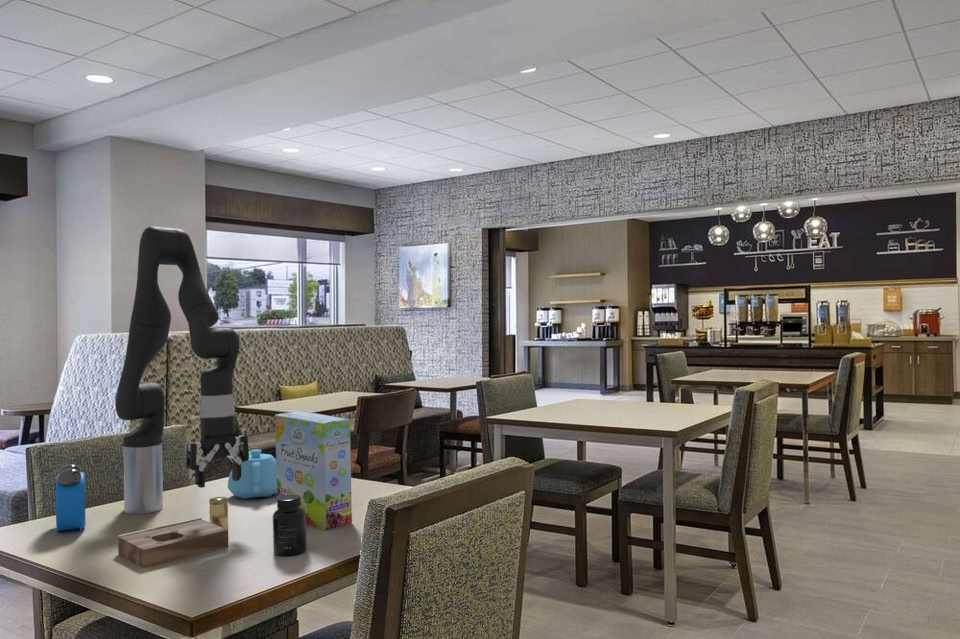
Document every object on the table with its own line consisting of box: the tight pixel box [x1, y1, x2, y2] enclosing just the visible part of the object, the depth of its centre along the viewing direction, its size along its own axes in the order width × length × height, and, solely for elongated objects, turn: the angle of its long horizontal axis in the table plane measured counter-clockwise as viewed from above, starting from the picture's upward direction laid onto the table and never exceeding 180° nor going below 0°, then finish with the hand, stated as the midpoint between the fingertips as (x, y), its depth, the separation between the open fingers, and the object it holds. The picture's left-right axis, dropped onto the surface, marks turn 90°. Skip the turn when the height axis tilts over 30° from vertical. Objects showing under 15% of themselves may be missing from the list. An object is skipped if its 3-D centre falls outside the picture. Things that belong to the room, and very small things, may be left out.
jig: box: [117, 517, 229, 569], centre depth 157 cm, size 13×18×4 cm
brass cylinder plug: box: [208, 496, 229, 531], centre depth 170 cm, size 4×4×8 cm
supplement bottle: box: [272, 495, 308, 558], centre depth 155 cm, size 7×7×12 cm
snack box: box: [274, 410, 353, 531], centre depth 181 cm, size 22×9×26 cm, turn 47°
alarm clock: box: [54, 463, 86, 532], centre depth 175 cm, size 13×6×15 cm, turn 29°
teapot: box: [227, 449, 277, 500], centre depth 208 cm, size 20×20×13 cm
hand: (218, 483), depth 170 cm, fingers open, 8 cm apart
